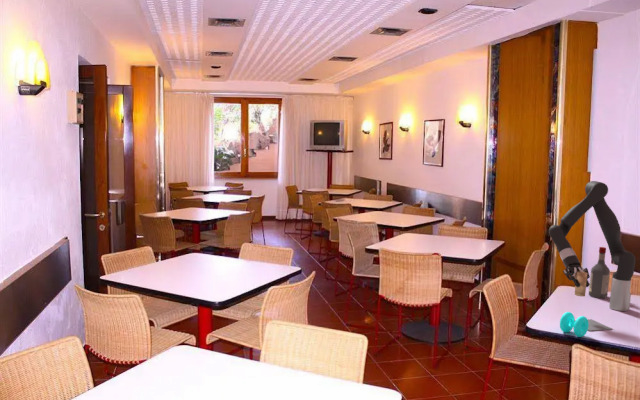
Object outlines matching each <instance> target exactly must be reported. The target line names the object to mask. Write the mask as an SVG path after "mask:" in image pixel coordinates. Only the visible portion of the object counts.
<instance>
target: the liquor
mask: <svg viewBox="0 0 640 400" xmlns="http://www.w3.org/2000/svg"><path fill="white" fill-rule="evenodd" d="M598 248H599V250H598V252H599V253H598V258H597V259H598V260H597V263H596V264H594V265H593V266H592V267H591V269H590V274H589V276H590V277H589V284H590V285H589V286H588V296H590V297H591V298H595V299H596V298H597V299H605V298H607V297H608V292H609V285H610V275H611V270H610V268H609V267H608V266H607V265H606V261H605V260H606V252H607V248H606V247H604V246H599V247H598Z"/></svg>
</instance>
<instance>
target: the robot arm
mask: <svg viewBox="0 0 640 400" xmlns="http://www.w3.org/2000/svg"><path fill="white" fill-rule="evenodd" d="M584 190H585V194H586V196H585V198H583V199H582V200H581V201H580V202H578V203H577V204H575V205H574V206H572V207H571V208H570V209H569V210H568V211H567V212H566V213H564V215H563V216H562V218H560V224H559V225H557V224H553V225H551V226H550V227H549V229H548V234H549V236H550V238H551V240H552V242H553V244H554V245H555V247H556V249H557V251H558V253H559V256H560V259H561V261H562V263H563V266H564V267H565V269H564V270H562V272H563V274H564V275H565V276H566V278H567V280H568V281H572V282H573V284H574V287H575V286H576V287H580V283H579V281H578V280H577V277H576V274H577V272H578V271H581V272H586V273H587V282H586V288H589V285H590V281H589V280H588V279H590V273H589V269H588V268H587V267H585V268H584V267H582V266H581V262H580V260H579V258H578V256H577V254H576V252H575V250H573V247H572V245H571V243H570V242H569V240H567V236H568V234H569V233H570V231H571V229H572V227H573V226H574V225H576V223H577V222H578V221H579V220H580V219H581V218H582V216H583V215H584V214H586V213H587V212H588V211H589V210H590V209H592V208H593V210H594V213H595V215H596V219H597V222H598V224H599V226H600V230H601V232H602V234H603V236H604V239H605V241H606V243H607V247H608V251H609V254H610V258H611V260H612V262H613V263H614V264H615V265H616V267H617V268H616V271H614V272H612V278H611V287H610V288H611V289H610V296H609V297H610V298H609V305H608V306H609V309H612V310H615V311H619V312H628V311H629V310H630V307H631V296H632V293H631V287H632V286H631V284H632V277H633V276H634V273H635V265H636V257H635V255H634V253H633V252H630V251H628V250H626V249H625V247H624V245H623V243H622V239H621V232H622V231H621V226H620V223H619V222H620V221H619V220H618V218H617V216H616V214H615V213H614V211H613V210H612V209H611V207H610V206H609V204H608V203H607V201H606V199H605V197H606V196H607V195H608V193H609V188H608V185H607V184H606V183H605V182H600V181H597V180H592V181H591V180H590V181H588V183H586V185H585V188H584Z"/></svg>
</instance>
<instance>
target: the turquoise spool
mask: <svg viewBox="0 0 640 400" xmlns="http://www.w3.org/2000/svg"><path fill="white" fill-rule="evenodd" d="M575 320H576V321H575ZM588 326H589V323H588V318H587V317H586V316H584V315H581V316H578V317H577V318H575V316H574V313H573V312H570V311H565V312H564V313H563V314H562V315H561V318H560V321H559V328H560V330H561V331H562V332H563V333H570V331H572V330H573V333H574V335H575V336H576V337H577V338H583V337H584V336H585V335H586V334H587V333H588V331H587V330H588Z"/></svg>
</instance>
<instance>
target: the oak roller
mask: <svg viewBox="0 0 640 400" xmlns="http://www.w3.org/2000/svg"><path fill="white" fill-rule="evenodd" d="M576 277H577V280H578V281H579V283H580V287H576V286H575V285H574V295H575V296H577V297H586V290H587V287H586V282H587V280H588V279H587V273H586V272H581V271H578V272H577V274H576Z"/></svg>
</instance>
